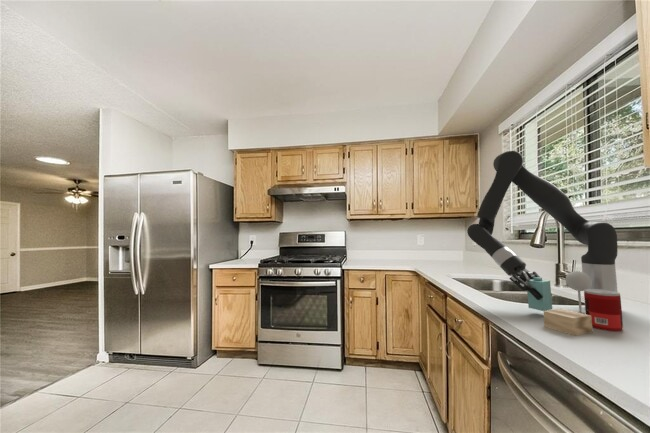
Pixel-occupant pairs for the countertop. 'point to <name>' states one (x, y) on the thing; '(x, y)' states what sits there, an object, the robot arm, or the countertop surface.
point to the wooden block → (568, 321)
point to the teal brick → (544, 290)
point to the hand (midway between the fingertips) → (545, 297)
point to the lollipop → (578, 283)
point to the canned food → (604, 309)
